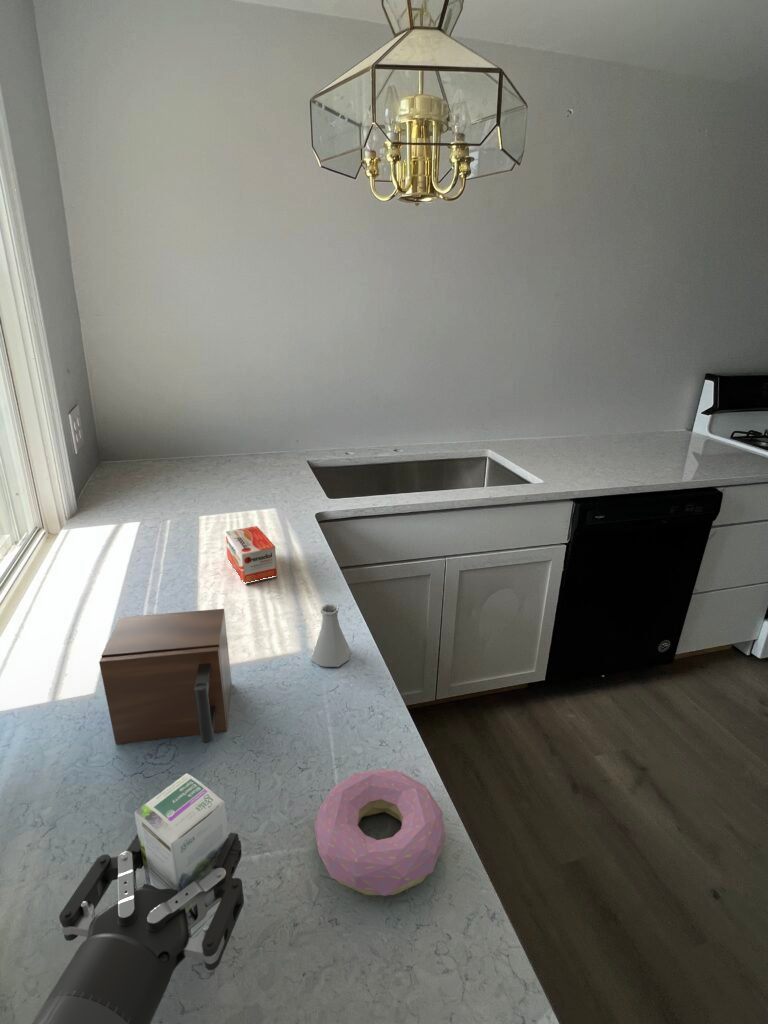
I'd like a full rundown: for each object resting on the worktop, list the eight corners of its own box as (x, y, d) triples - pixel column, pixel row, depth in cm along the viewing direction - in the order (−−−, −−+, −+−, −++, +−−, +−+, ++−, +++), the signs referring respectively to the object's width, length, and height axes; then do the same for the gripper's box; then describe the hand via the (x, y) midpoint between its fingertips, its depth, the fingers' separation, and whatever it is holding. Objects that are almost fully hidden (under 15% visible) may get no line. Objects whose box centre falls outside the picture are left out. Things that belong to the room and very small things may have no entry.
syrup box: (199, 872, 59) (185, 768, 54) (236, 906, 56) (225, 798, 51) (151, 917, 55) (130, 808, 50) (188, 956, 52) (171, 843, 47)
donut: (470, 857, 65) (473, 826, 63) (361, 937, 57) (361, 903, 55) (392, 771, 77) (393, 742, 75) (292, 826, 68) (290, 796, 67)
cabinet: (227, 726, 84) (218, 644, 79) (117, 739, 81) (101, 655, 76) (231, 684, 93) (224, 608, 88) (133, 694, 91) (119, 617, 85)
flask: (340, 672, 97) (340, 622, 93) (303, 663, 99) (301, 614, 96) (356, 649, 103) (356, 602, 100) (321, 641, 106) (320, 595, 102)
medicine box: (226, 560, 137) (223, 530, 135) (258, 553, 141) (256, 524, 138) (244, 586, 125) (241, 554, 122) (278, 578, 129) (276, 547, 126)
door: (223, 760, 78) (214, 676, 73) (104, 776, 75) (85, 689, 70) (227, 726, 84) (218, 646, 79) (117, 739, 81) (100, 657, 76)
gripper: (175, 1023, 37) (263, 814, 52) (-15, 981, 39) (123, 792, 54) (187, 1087, 40) (267, 871, 55) (8, 1045, 42) (133, 847, 57)
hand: (195, 832), depth 54 cm, fingers closed on syrup box, 7 cm apart
